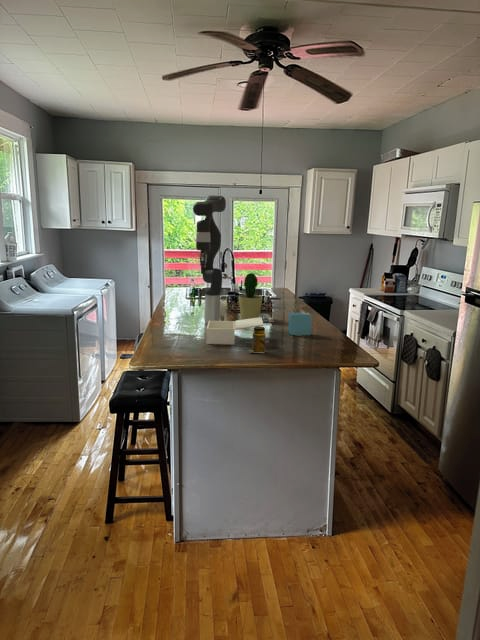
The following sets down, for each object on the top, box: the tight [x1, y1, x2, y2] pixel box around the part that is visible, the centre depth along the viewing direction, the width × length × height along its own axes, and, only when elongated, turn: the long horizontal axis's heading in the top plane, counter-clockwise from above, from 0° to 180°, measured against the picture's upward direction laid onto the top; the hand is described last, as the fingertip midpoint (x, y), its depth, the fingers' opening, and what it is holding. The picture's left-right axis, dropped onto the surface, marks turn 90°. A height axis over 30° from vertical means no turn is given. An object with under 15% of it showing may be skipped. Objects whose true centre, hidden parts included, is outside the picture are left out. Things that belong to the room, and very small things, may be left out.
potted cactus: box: [238, 272, 264, 320], centre depth 283 cm, size 15×15×30 cm
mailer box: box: [206, 320, 236, 345], centre depth 234 cm, size 14×18×8 cm
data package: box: [288, 312, 313, 337], centre depth 248 cm, size 12×4×12 cm, turn 95°
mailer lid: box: [235, 316, 265, 331], centre depth 233 cm, size 14×18×1 cm
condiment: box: [251, 326, 266, 352], centre depth 213 cm, size 7×8×12 cm
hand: (203, 273), depth 240 cm, fingers closed
